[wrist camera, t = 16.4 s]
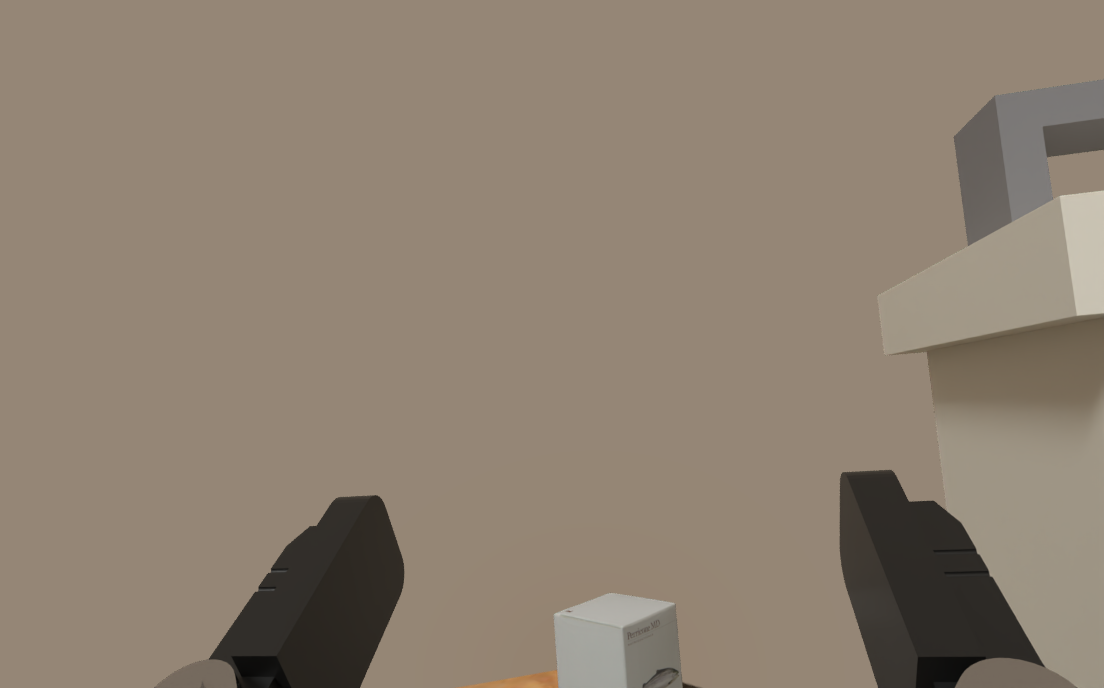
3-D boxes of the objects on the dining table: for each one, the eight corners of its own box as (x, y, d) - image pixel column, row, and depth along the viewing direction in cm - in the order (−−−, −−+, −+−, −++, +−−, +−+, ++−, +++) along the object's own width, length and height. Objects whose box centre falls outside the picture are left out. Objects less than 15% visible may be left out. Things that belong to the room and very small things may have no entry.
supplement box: (635, 807, 50) (620, 626, 51) (561, 774, 55) (549, 611, 56) (692, 764, 55) (678, 601, 56) (620, 738, 61) (608, 589, 62)
